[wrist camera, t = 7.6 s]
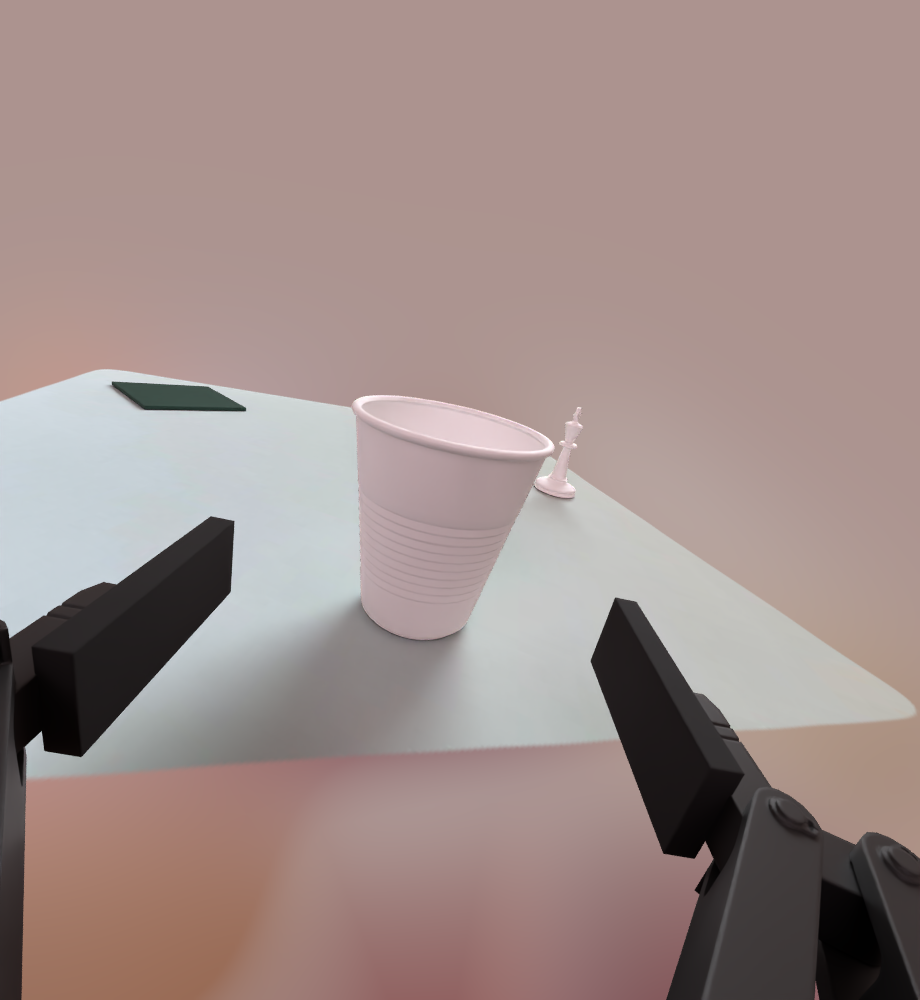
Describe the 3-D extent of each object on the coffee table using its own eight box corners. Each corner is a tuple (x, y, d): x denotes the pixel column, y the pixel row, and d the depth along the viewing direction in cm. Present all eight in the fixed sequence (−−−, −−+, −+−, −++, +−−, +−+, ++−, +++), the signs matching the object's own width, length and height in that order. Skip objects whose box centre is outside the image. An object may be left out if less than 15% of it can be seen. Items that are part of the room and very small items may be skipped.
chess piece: (579, 493, 56) (606, 412, 52) (567, 501, 52) (595, 414, 48) (542, 479, 58) (565, 401, 54) (527, 486, 54) (552, 402, 50)
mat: (144, 409, 49) (144, 405, 49) (112, 384, 56) (111, 381, 55) (245, 410, 58) (246, 407, 58) (207, 389, 64) (207, 386, 64)
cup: (367, 695, 20) (414, 448, 16) (301, 573, 27) (322, 386, 23) (535, 646, 25) (598, 456, 22) (443, 557, 33) (478, 404, 29)
